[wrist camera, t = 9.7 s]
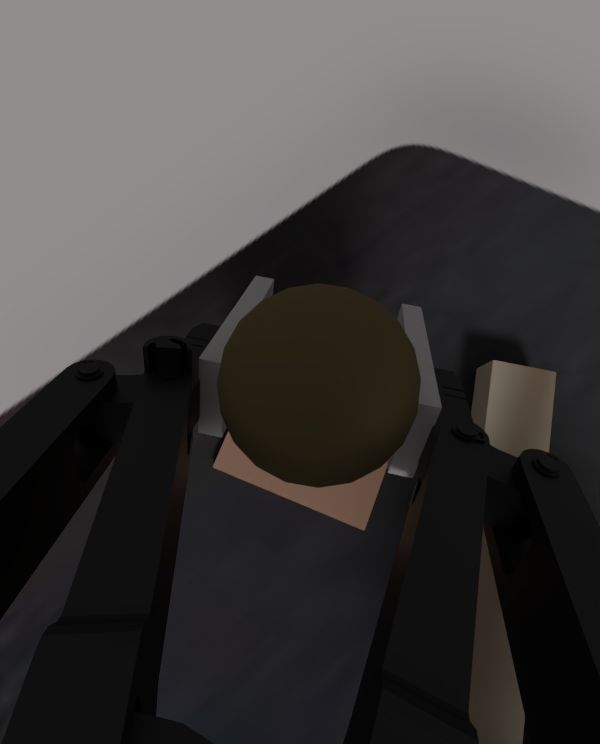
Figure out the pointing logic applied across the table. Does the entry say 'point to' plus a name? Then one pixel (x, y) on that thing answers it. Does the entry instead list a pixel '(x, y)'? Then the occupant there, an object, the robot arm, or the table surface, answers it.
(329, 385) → the olive domed peg
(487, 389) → the straightedge
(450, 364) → the table surface
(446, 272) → the table surface
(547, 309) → the table surface
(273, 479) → the end plate
